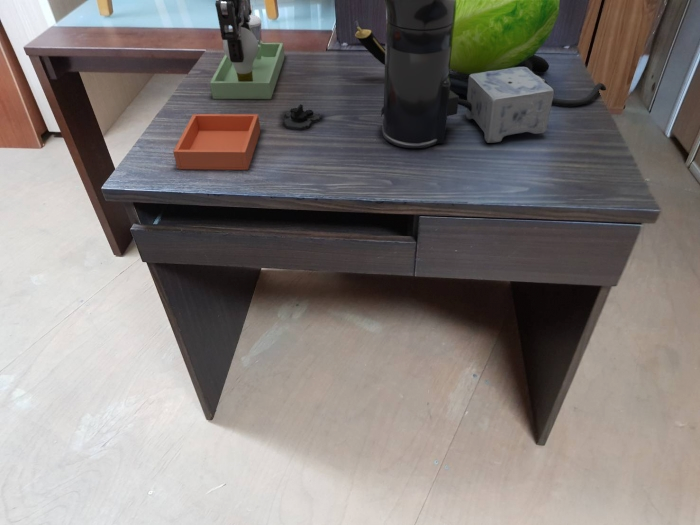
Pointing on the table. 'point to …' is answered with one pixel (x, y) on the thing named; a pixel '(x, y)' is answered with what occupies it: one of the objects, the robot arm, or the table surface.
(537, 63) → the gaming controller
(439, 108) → the robot arm
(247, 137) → the terracotta tray
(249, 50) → the light bulb
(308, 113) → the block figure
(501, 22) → the lettuce
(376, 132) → the table surface
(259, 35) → the milkshake cup
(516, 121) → the incense holder
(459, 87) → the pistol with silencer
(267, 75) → the green tray
